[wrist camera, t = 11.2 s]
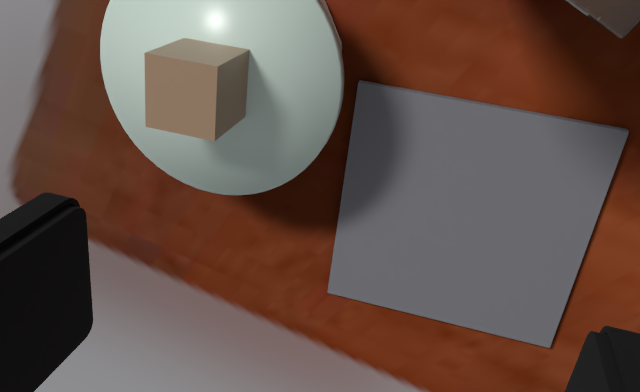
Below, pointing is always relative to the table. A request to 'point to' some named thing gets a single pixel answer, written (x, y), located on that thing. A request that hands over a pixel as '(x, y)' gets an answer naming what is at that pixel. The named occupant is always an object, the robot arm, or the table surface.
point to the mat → (468, 209)
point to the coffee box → (611, 14)
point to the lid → (224, 87)
